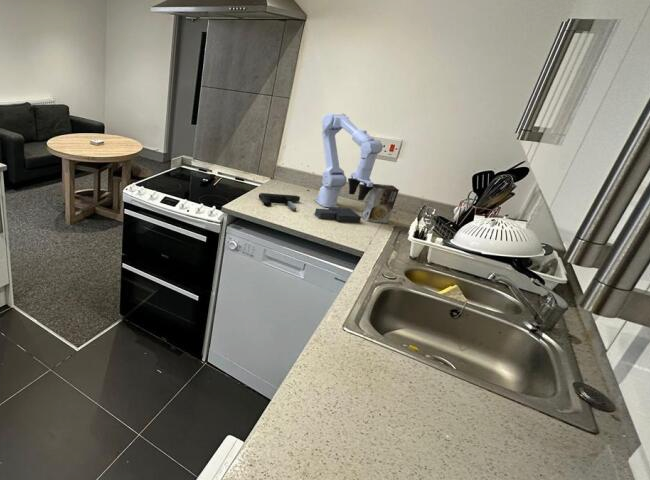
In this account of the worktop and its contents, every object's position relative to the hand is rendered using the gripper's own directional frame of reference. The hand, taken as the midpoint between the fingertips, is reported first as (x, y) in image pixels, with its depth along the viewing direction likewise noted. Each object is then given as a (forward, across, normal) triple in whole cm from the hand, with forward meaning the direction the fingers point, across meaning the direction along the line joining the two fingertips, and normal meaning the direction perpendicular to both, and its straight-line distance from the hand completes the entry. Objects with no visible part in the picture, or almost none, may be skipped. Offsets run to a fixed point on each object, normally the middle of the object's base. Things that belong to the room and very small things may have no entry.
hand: (355, 197), depth 177 cm
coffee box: (+10, +3, +10) cm, 14 cm away
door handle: (+10, -10, -29) cm, 32 cm away
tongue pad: (+9, +3, -13) cm, 16 cm away
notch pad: (+9, +3, -5) cm, 11 cm away
